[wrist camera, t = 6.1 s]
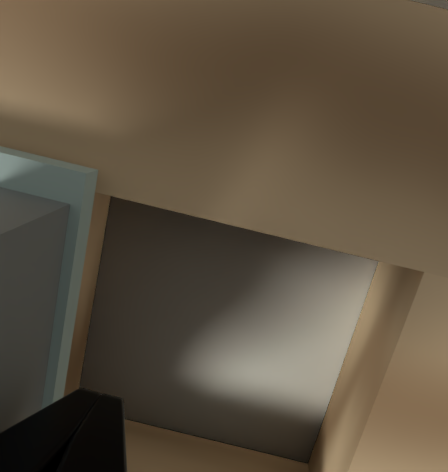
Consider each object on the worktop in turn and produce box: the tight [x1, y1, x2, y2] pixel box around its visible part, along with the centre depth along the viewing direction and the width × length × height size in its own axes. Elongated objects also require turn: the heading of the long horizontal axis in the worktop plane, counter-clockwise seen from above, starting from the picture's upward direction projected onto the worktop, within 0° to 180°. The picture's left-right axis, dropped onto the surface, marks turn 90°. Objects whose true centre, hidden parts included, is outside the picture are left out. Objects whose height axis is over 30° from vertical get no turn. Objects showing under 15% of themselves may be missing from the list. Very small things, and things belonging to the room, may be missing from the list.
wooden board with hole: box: [0, 0, 448, 472], centre depth 11 cm, size 20×16×2 cm
